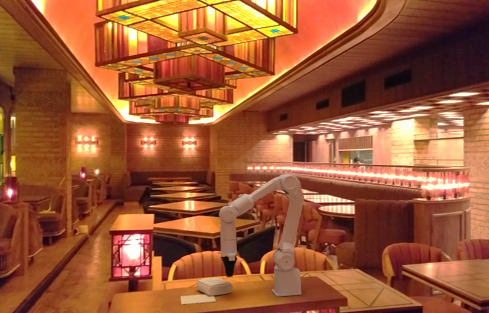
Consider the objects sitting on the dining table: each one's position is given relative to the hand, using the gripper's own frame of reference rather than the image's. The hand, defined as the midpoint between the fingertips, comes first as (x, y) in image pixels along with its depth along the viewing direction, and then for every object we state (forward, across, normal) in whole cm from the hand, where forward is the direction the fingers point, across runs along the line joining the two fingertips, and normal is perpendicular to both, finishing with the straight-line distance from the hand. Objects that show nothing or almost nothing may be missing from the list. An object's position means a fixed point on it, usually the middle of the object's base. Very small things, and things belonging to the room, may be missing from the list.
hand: (229, 276), depth 150 cm
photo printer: (+5, -2, -3) cm, 6 cm away
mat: (+7, 0, -12) cm, 14 cm away
